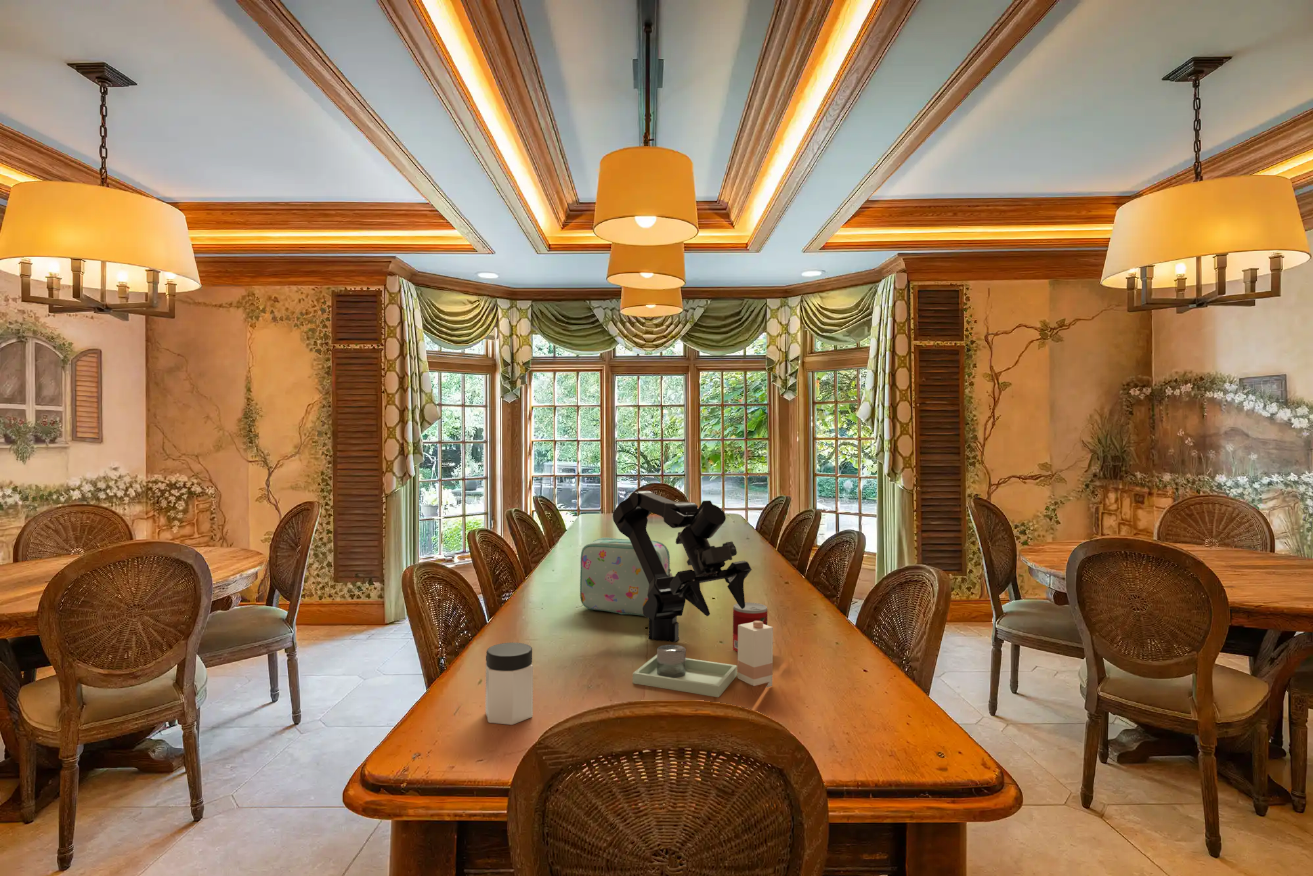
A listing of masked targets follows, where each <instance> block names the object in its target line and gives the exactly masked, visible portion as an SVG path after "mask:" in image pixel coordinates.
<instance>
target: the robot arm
mask: <svg viewBox="0 0 1313 876" xmlns="http://www.w3.org/2000/svg"><path fill="white" fill-rule="evenodd" d="M651 513H653V514H655V515H658V516H660V517H661V518H662V519H663V522H664V524H666V525H667V526H669V527H670V528H671V529H679V528H682V530H681V531H680V532H678V533H677V536H676V539H675V544H676V545H680V544H681V545H682V546H683V548H684V551H685V553H686V555H687V558H688V559H687V561H686V564H687V566H688V567H689V566H692V569H688V570H687V569H685V570H680V571H677V572H676V574H675V575H674V576H673V575H672V576H673V577H669V576H668V575H667V574H666V572H665V569H664V567H663V565H662V563H661V561H660V559H659V557H658V554H657V552H656V550H655V548H654V546H653V544H652V541H653V540H652V539H651V538H650V535H649V533H648V531H647V527H648V517H649V516H650V515H651ZM612 520H613V523H614V524H615V527H617V530H618V531H619V532H620V533H621V534H622V535H624V536H625V537H627V538H628V540H630V541H631V544H632V546H633V548H634V551H635V553H636V555H637V557H638V560H639V562H640V564H641V566H642V569H643V571H644V573H645V575H646V578H647V580H648V582H649V589H648V594H647V596H648V600H647V602H646V603H645V605H644V606H643V615H644V616H643V617H644V618H647V619H648V640H654V641H657V642H658V641H659V642H669V643H676V642H677V641H678V640H679V639H680V635H679V622H678V621H677V620H678V617H681V616H683V613H684V609H685V605H686V601H688V602H689V603H690V604H691V605H693V606H694V607H695V608H696V609H698V610H699V611H700V612H701V613H702V614H703V615H704V616H706V617H709V616H710V615H711V613H710V609H709V606H708V604H707V602H706V599H705V597H704V595H703V593H702V591H701V585H700V584H702V583H703V584H704V583H709V582H712V581H718V580H724V581H725V582H726V583H727V584H728V585H727V586H726V587H727V589H728V590H729V592H730V594H732V597H733V598H734V600H735V602H736V604H737V603H738V605H739V606H740V607H741V608H742V609H744V608H745V601H746V600H745V591H744V590H745V589H744V587H745V586H744V585H745V583H744V582H745V579H746V578H747V577H748V576H749V574H750V572H751V571H752V567H751V565H750V564H749V562H748V561H747V560H741V561H740V560H739V561H733V562H731V563H730V565H729V566H728V567H727V568H725V569H722V568H724V567H725V566H726V563H725V562H726V561H732V560H733V557H734V556H737V555H738V554H737V553H738V551H737V547H736V545H735V544H734V542H733V541H732V540H731V541H726V542H724V543H722V545H720V546H715V545H711V544H710V542H709V540H708V539H711V538H712V537H713V536H714V535H715V534H716V533H717V532H718V531H719V529H720V528H721V527H722V526H723V524H724V523H725V522H726V514H725V512H724V510H722V508H720V507H719V506H717V505H716V504H713V503H712V501H711V500H702V502H701V504H700V505H699V507H698V505H697V503H695V502H694V501H693V502H690V501H674V500H671V499H668V498H666V497H665V496H661V495H659V494H656V493H653V492H652V491H650V490H636V491H633V492H632V493H631V495H630V496H629V497H628V498H626V499H624V500H623V501H620V503H618V505H617V506H616V508H615V509H614V510H613V512H612ZM651 540H652V541H651Z"/></svg>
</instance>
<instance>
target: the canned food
mask: <svg viewBox="0 0 1313 876" xmlns="http://www.w3.org/2000/svg"><path fill="white" fill-rule="evenodd" d="M732 610H733V612H732V650H733V651H735V652H737V653H738V625H740V624H745V623H751V622H753V621H762V622H763V624H765V625H768V607H767V605H764V604H763V603H757V602H750V601H749V602H747V601H746V602H745V608H744V609H742V608H741V607H740V606H739V605H738V603H737V602H736V603H735V604H733V608H732Z"/></svg>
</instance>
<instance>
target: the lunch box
mask: <svg viewBox="0 0 1313 876" xmlns="http://www.w3.org/2000/svg"><path fill="white" fill-rule="evenodd" d="M651 541H652V544H653V546H654V548H655V550H656V552H657V554H658V557H659V559H660V561H661V563H662V565H663V567H664V569H665V572H666V574H667V575H668V576H669V577H673V573H672V572H671V571H672V570H671V568H670V564H671V563H670V560H671V559H670V551H669V549H668V547H667V546H666V545H665V543H663V542H660V541H659V540H652V539H651ZM579 572H580V577H579V596H580V602H581V604H582V606H583V607H585V608H586V609H588V610H595V611H604V612H609V613H610V612H611V613H614V614H619V615H633V616H643V617H645V616H644V615H643V606H644V605H645V603H646V602H647V600H648V596H647V594H648V589H649V582H648V580H647V578H646V575H645V573H644V571H643V569H642V566H641V564H640V562H639V560H638V557H637V555H636V553H635V551H634V548H633V546H632V544H631V541H630V539H629V538H628V539H626V538H613V537H601V538H600V537H599V538H597V539H595V540H593V541H592V542H590V543H588V544H586V545H584V546H583V547H582V549H581V553H580V570H579Z"/></svg>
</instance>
